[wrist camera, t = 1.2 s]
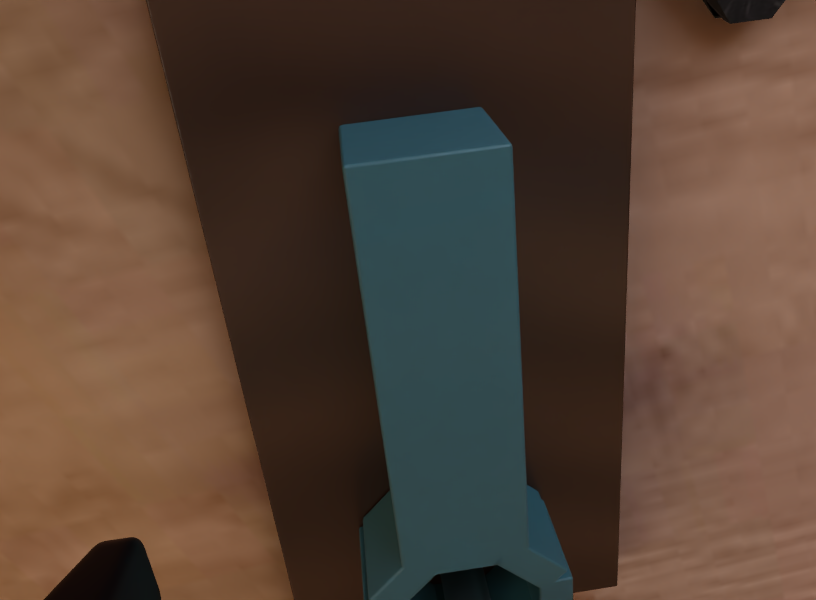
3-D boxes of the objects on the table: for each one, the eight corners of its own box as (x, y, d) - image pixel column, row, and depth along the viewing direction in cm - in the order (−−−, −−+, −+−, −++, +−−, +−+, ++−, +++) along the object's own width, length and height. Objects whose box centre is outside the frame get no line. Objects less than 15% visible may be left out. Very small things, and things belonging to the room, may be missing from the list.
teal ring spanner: (545, 586, 24) (574, 671, 21) (374, 614, 24) (381, 703, 21) (532, 99, 17) (571, 135, 14) (287, 130, 17) (281, 173, 14)
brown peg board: (607, 562, 25) (692, 757, 19) (303, 610, 25) (299, 824, 19) (622, -81, 16) (786, -73, 11) (150, -24, 16) (56, 17, 10)
